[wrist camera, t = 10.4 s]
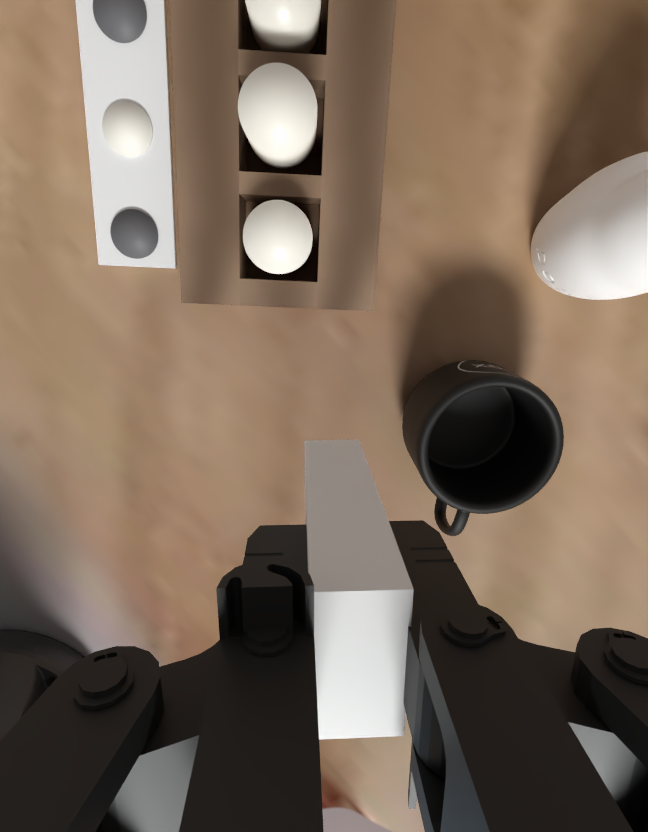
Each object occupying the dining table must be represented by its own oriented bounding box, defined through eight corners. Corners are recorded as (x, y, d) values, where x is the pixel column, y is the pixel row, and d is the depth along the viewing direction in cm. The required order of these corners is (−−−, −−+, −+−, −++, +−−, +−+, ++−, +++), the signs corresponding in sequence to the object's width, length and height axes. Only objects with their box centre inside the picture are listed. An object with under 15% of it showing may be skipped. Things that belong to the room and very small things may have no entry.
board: (192, 299, 33) (181, 302, 30) (180, -66, 27) (165, -106, 24) (367, 307, 33) (373, 311, 30) (392, -51, 28) (402, -88, 25)
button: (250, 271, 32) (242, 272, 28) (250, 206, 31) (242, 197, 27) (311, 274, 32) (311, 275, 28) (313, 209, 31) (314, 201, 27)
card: (100, 264, 32) (97, 264, 32) (75, -31, 27) (71, -36, 27) (176, 268, 32) (174, 268, 32) (164, -24, 28) (161, -29, 27)
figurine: (654, 243, 33) (841, 230, 21) (560, 318, 34) (688, 344, 23) (600, 155, 31) (771, 88, 20) (503, 237, 32) (610, 220, 21)
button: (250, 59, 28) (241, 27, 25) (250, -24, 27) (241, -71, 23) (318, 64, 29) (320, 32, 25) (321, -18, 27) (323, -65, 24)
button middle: (247, 166, 29) (238, 151, 25) (247, 88, 27) (237, 60, 24) (315, 170, 29) (315, 155, 25) (317, 93, 28) (318, 65, 24)
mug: (415, 342, 34) (441, 361, 27) (534, 368, 35) (588, 393, 28) (374, 493, 38) (388, 543, 31) (483, 513, 38) (521, 566, 32)
